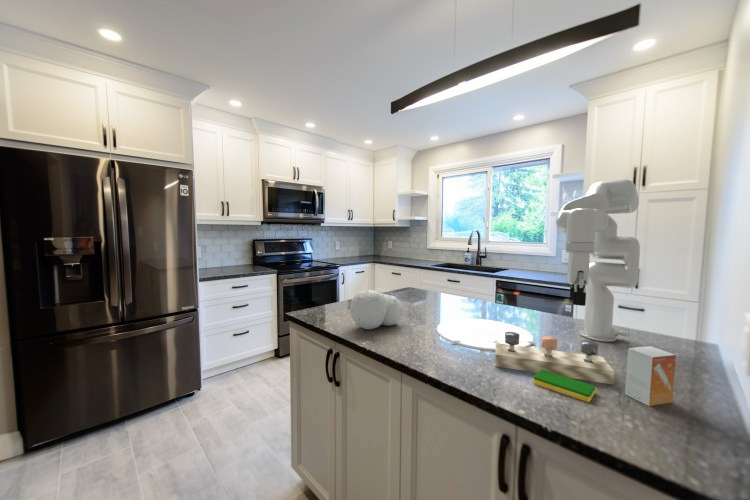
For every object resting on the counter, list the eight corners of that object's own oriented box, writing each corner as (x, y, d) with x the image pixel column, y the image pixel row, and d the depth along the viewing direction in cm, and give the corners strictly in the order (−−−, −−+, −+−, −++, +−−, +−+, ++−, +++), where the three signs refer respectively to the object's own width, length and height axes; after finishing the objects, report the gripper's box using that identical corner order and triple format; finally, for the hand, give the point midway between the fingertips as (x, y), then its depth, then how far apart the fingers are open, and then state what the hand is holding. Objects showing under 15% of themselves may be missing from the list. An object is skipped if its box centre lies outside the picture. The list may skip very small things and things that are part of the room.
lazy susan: (554, 353, 112) (555, 344, 112) (447, 352, 113) (448, 343, 113) (509, 321, 152) (509, 314, 152) (430, 320, 153) (430, 313, 153)
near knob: (594, 362, 97) (595, 341, 97) (599, 368, 93) (600, 346, 92) (578, 360, 99) (579, 339, 98) (581, 365, 95) (583, 344, 94)
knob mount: (601, 368, 99) (602, 356, 99) (613, 384, 89) (614, 371, 89) (495, 353, 111) (495, 343, 111) (495, 366, 101) (495, 354, 101)
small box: (649, 407, 78) (652, 357, 77) (624, 394, 84) (626, 347, 83) (673, 403, 80) (677, 354, 79) (647, 390, 86) (649, 345, 85)
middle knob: (554, 357, 101) (555, 336, 101) (557, 362, 97) (558, 341, 97) (539, 355, 103) (540, 335, 102) (541, 360, 99) (542, 339, 98)
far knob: (518, 352, 105) (518, 332, 105) (519, 357, 101) (519, 336, 101) (504, 350, 107) (504, 331, 106) (504, 354, 103) (505, 335, 102)
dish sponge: (541, 376, 95) (541, 369, 95) (595, 394, 85) (595, 385, 85) (532, 384, 90) (533, 376, 90) (589, 404, 80) (589, 395, 80)
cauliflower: (416, 309, 144) (391, 270, 144) (386, 341, 127) (357, 297, 126) (389, 319, 159) (366, 283, 159) (358, 349, 141) (332, 309, 141)
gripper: (563, 246, 106) (561, 296, 107) (568, 248, 90) (565, 306, 91) (590, 247, 102) (587, 298, 103) (599, 249, 87) (596, 309, 88)
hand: (577, 302), depth 97 cm, fingers open, 9 cm apart
